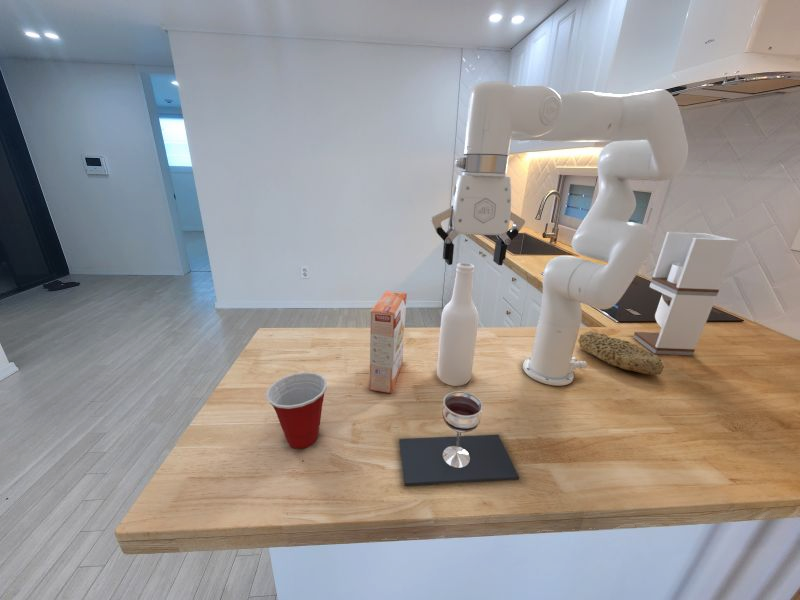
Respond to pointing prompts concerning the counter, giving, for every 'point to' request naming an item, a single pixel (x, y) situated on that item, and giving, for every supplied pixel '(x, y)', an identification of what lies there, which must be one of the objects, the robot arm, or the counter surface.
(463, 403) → the wineglass
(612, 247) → the robot arm
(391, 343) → the cracker box
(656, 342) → the white shelf stand
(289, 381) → the plastic cup
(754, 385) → the counter surface
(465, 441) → the placemat
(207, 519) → the counter surface
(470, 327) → the alcohol
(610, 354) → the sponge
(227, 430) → the counter surface
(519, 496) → the counter surface
